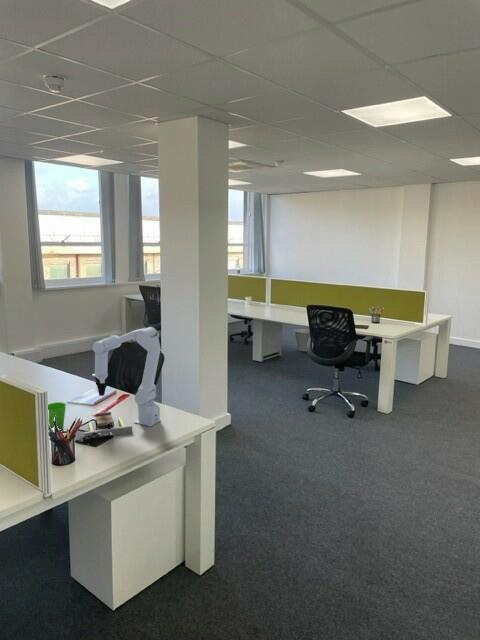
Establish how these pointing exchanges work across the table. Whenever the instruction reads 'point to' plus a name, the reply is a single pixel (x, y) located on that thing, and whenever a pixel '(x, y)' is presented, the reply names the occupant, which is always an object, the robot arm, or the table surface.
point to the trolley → (104, 419)
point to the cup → (57, 413)
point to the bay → (115, 431)
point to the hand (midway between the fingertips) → (100, 392)
